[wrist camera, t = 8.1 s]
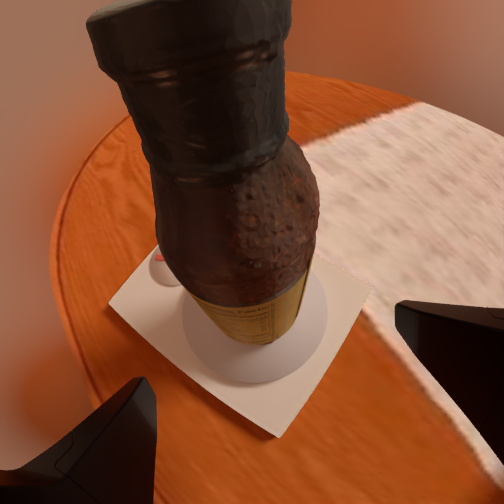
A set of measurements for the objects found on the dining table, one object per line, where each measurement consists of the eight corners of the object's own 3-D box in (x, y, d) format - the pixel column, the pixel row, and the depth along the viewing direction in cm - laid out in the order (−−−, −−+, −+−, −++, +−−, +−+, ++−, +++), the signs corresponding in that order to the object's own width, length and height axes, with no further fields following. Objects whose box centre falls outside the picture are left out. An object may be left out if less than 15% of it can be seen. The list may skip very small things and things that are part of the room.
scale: (279, 436, 17) (279, 439, 16) (114, 307, 23) (103, 299, 22) (368, 291, 23) (375, 281, 21) (206, 203, 29) (202, 190, 27)
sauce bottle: (243, 257, 23) (192, -25, 6) (313, 294, 21) (383, -18, 4) (196, 324, 20) (10, 55, 3) (268, 369, 18) (219, -21, 1)
